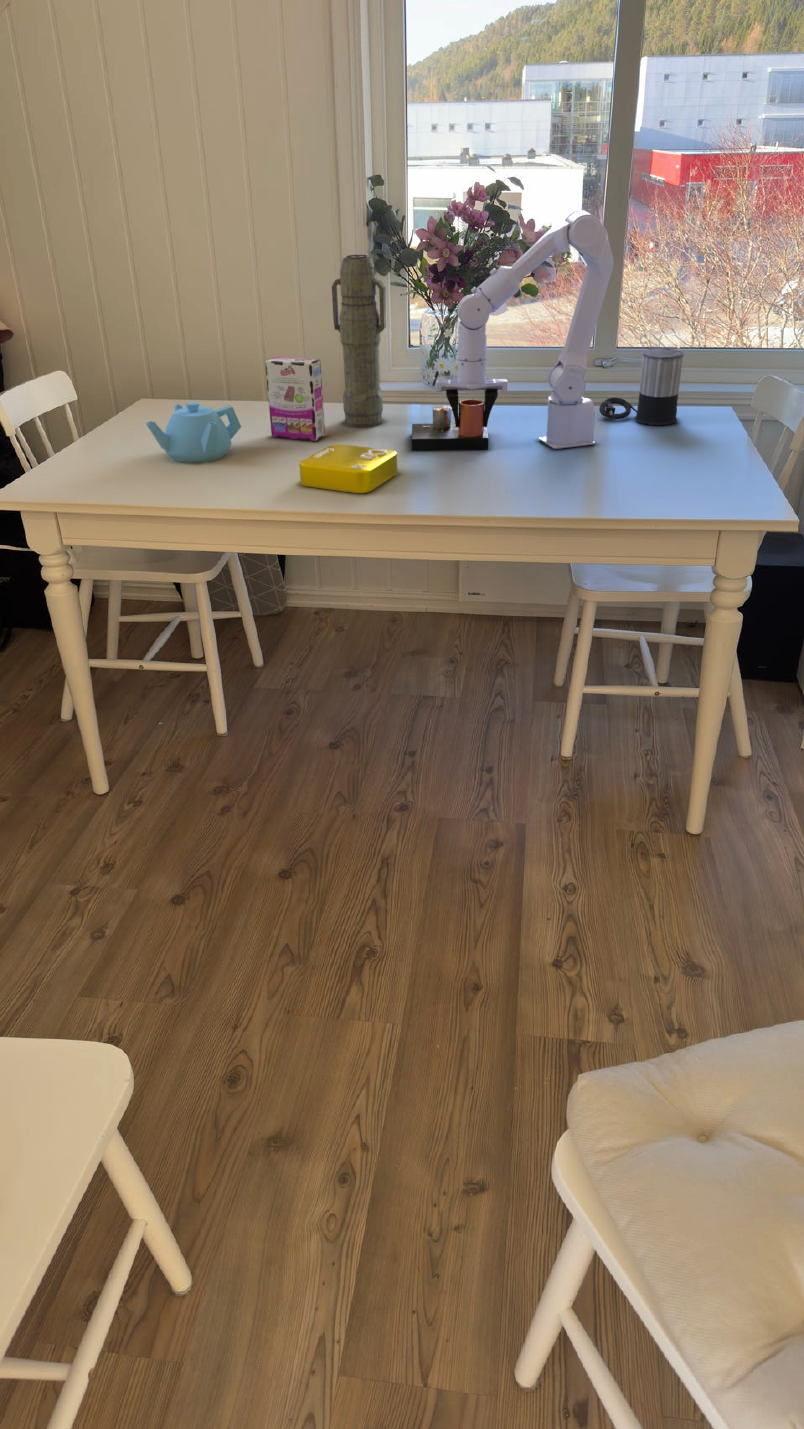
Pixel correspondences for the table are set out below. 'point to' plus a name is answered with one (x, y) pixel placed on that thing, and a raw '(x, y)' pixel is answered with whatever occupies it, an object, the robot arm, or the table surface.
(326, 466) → the element tile
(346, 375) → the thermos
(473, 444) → the warming plate
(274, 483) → the table surface
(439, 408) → the dial
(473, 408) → the orange stave barrel
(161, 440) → the teapot
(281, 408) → the candy bar box
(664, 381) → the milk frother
